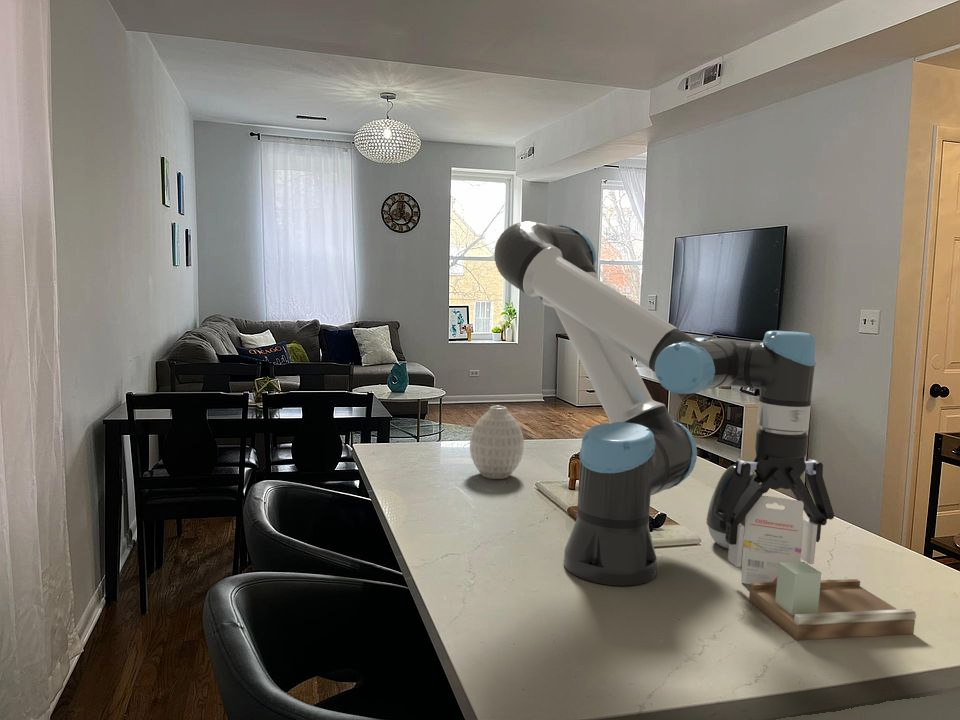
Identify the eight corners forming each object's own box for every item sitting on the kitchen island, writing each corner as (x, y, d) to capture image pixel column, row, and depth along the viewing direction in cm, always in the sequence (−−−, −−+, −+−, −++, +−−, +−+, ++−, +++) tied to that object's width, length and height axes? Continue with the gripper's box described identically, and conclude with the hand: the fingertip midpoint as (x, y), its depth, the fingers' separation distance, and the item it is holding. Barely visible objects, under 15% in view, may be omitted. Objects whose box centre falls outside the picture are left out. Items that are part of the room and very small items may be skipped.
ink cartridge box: (797, 582, 118) (805, 494, 116) (798, 594, 113) (806, 502, 112) (741, 572, 121) (748, 486, 119) (739, 583, 116) (747, 494, 115)
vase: (531, 475, 176) (535, 407, 174) (504, 486, 165) (508, 414, 163) (486, 465, 183) (489, 400, 181) (458, 476, 172) (460, 406, 170)
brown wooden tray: (797, 640, 98) (799, 617, 98) (748, 600, 110) (750, 580, 110) (914, 634, 101) (916, 612, 101) (854, 596, 113) (857, 576, 113)
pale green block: (791, 615, 101) (795, 573, 100) (775, 602, 105) (778, 562, 104) (817, 614, 102) (821, 572, 101) (800, 601, 106) (803, 561, 105)
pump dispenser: (736, 560, 126) (743, 474, 125) (693, 539, 135) (699, 460, 134) (777, 551, 131) (784, 469, 129) (732, 533, 140) (739, 455, 138)
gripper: (723, 434, 108) (712, 574, 111) (867, 435, 113) (854, 568, 115) (699, 424, 116) (689, 555, 118) (835, 425, 120) (823, 551, 122)
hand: (770, 562), depth 117 cm, fingers open, 12 cm apart
